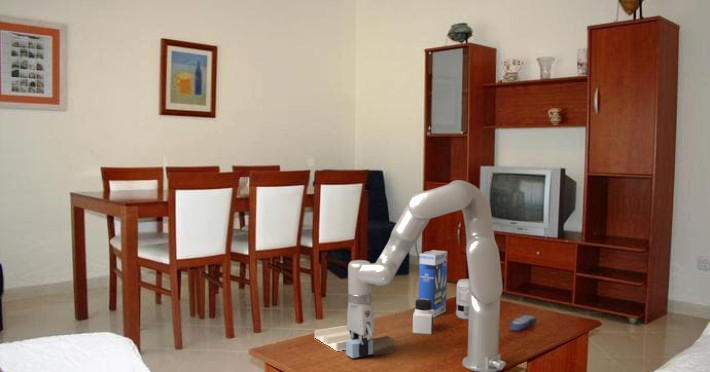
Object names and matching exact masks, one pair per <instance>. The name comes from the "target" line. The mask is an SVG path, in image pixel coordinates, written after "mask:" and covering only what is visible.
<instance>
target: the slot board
mask: <svg viewBox="0 0 710 372" xmlns="http://www.w3.org/2000/svg"><path fill="white" fill-rule="evenodd" d="M350 337H351V335H350V332H349V330H348V328H347V324H346V325H341V326H340V325H339V326H334V327H328V328H321V329H315V330H314V339H315V338H316V339H318V340H320V341H321V342H323V343H324V344H326V345H328V346H330V347H331V348H333V349H334V350H336V351H340V352H343V351H342V350H346V341H350V340H351V338H350ZM363 338H365V336H363ZM316 339H315V340H316ZM359 339H360V335H359ZM321 342H320V343H321ZM323 343H322V344H323ZM324 344H323V345H324ZM326 345H325V346H326ZM328 346H327V347H328ZM331 348H330V349H331ZM333 349H332V350H333ZM334 350H333V351H334ZM336 351H335V352H336Z"/></svg>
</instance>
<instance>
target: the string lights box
mask: <svg viewBox="0 0 710 372" xmlns="http://www.w3.org/2000/svg"><path fill="white" fill-rule="evenodd" d="M418 264H419V265H418V267H419V269H418V270H419V271H418V273H419V274H418V279H419V280H418V299H428V300H430V301H431V302H432V310H431V311H433V319H434V318H436V317H438V316H440V315H441V314H444V313H445V312H447V284H448V283H447V282H448V281H447V280H448V279H447V278H448V276H447V275H448V251H447V250H439V249H438V250H436V249H432V250H430V251H429V250H428V251H424V252H423V253H422V252H421V253H419V263H418Z"/></svg>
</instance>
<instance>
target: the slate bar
mask: <svg viewBox="0 0 710 372" xmlns="http://www.w3.org/2000/svg"><path fill="white" fill-rule="evenodd" d="M363 339H364V337H363ZM372 339H373V338H372ZM372 339H371V340H370V341H369V344H368V355H367V356H369V355H372V354H373V340H372ZM359 344H360V339H355V340H350V341H346V351H345V354H346V356H348V357H349V358H351V359H356V358H359V357H360V356H359ZM360 358H361V357H360Z"/></svg>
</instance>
